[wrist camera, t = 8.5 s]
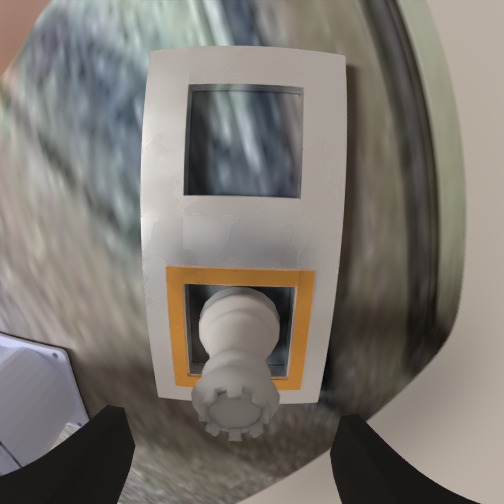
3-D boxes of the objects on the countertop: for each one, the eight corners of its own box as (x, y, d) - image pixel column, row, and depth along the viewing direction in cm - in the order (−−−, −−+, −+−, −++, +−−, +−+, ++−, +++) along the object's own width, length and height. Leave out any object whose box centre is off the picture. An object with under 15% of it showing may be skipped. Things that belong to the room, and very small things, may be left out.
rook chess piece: (293, 330, 17) (321, 428, 9) (229, 364, 18) (219, 467, 10) (252, 267, 16) (255, 344, 8) (185, 308, 17) (143, 398, 9)
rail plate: (162, 386, 18) (157, 399, 17) (156, 58, 13) (149, 49, 12) (314, 391, 18) (318, 404, 17) (339, 63, 14) (346, 54, 12)
